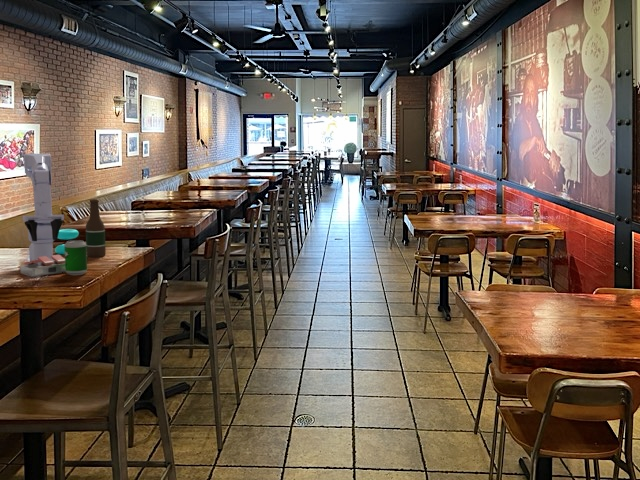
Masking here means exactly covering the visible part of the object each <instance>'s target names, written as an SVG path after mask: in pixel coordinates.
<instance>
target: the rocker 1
mask: <svg viewBox="0 0 640 480" xmlns="http://www.w3.org/2000/svg"><path fill="white" fill-rule="evenodd" d="M38 262H41V261H40V260H32V261H30V260H28V261H26V262H24V265H27V264H34V263H38Z"/></svg>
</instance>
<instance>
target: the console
mask: <svg viewBox="0 0 640 480" xmlns="http://www.w3.org/2000/svg"><path fill="white" fill-rule="evenodd" d="M53 262H54V264H51V265H45V264H43V263H34V264H27V265H25V264H21V265H19V266H20V268H19V269H20V274H22V275H25V276H27V277H31V278H34V277H40V276H42V277H43V276H48V275H54V274H56V275H57V274H63V273H66V270H65V263H57V262H56V261H55V260H53ZM62 272H63V273H62Z"/></svg>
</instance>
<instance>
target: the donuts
mask: <svg viewBox="0 0 640 480" xmlns="http://www.w3.org/2000/svg"><path fill="white" fill-rule="evenodd" d="M79 234H80V232H79V231H78V230H77V229H72V228H65V229H64V228H63V229H60V230H59V233H58V238H57V240H58V239H59V240H73V239H76V238H77V237H79ZM64 244H65V243H64ZM64 244H60V245H59V244H58V245H57V246H56V247H55V248H54V252H55V253H56V255H65V247H64Z"/></svg>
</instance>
